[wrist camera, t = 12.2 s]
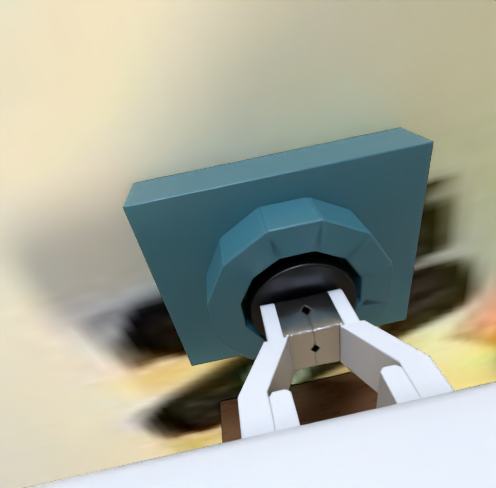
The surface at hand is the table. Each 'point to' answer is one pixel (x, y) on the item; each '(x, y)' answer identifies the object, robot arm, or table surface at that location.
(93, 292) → the table surface
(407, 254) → the button box
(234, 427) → the dial panel
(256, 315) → the button
